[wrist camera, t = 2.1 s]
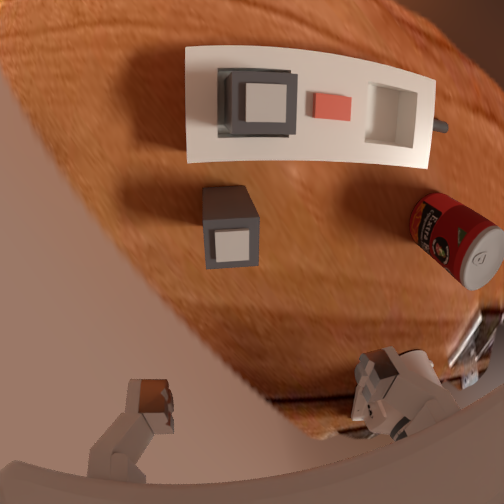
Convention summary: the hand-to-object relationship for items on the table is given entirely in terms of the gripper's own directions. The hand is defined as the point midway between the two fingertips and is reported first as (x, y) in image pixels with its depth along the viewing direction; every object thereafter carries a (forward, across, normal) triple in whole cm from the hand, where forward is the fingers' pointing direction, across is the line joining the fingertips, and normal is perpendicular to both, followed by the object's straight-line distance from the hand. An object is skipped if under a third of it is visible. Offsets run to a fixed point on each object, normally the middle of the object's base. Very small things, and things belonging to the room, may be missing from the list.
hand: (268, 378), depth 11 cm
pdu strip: (+20, -11, -10) cm, 25 cm away
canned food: (+20, -26, +2) cm, 33 cm away
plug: (+20, 0, 0) cm, 20 cm away
